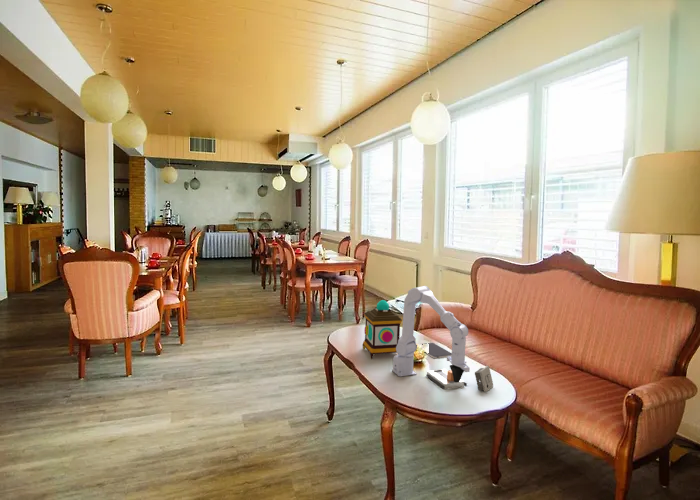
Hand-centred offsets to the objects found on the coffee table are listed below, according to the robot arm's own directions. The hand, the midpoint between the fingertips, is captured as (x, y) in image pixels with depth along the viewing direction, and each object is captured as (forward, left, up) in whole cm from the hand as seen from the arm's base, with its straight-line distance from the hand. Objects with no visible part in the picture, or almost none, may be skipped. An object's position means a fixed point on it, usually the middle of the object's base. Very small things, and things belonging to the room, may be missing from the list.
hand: (456, 381), depth 182 cm
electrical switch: (+13, -2, -4) cm, 14 cm away
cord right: (+7, +9, -4) cm, 12 cm away
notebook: (+17, +48, -4) cm, 51 cm away
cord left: (-5, +9, -4) cm, 11 cm away
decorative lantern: (-13, +53, -4) cm, 55 cm away
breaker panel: (0, +9, -4) cm, 10 cm away
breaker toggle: (0, +4, -1) cm, 5 cm away
